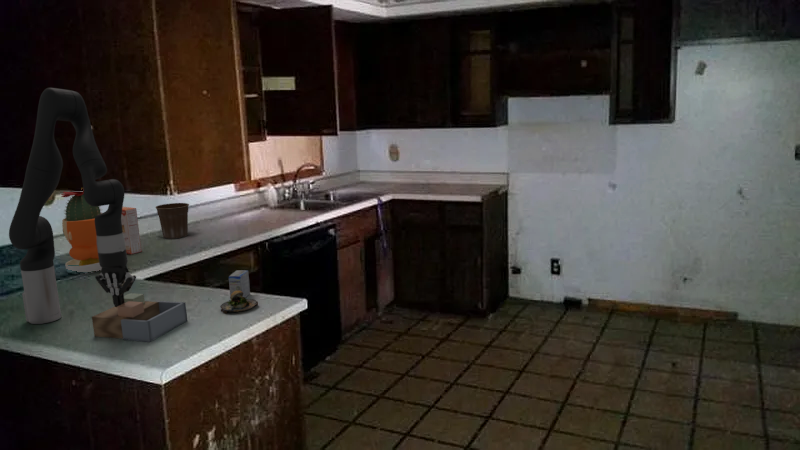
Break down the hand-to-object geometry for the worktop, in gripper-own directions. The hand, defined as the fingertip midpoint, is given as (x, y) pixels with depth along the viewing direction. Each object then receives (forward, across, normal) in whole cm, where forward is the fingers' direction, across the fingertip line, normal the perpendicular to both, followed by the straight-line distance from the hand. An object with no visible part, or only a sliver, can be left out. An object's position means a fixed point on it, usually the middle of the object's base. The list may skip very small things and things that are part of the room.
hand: (119, 306), depth 192 cm
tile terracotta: (+2, +4, 0) cm, 4 cm away
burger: (+9, +23, +27) cm, 37 cm away
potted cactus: (+8, -69, +67) cm, 96 cm away
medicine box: (+9, +17, +38) cm, 43 cm away
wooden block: (+8, -1, +4) cm, 9 cm away
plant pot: (+8, -73, +128) cm, 147 cm away
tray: (+8, +9, +4) cm, 13 cm away
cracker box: (+8, -75, +94) cm, 120 cm away
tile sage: (+2, -2, +8) cm, 8 cm away
